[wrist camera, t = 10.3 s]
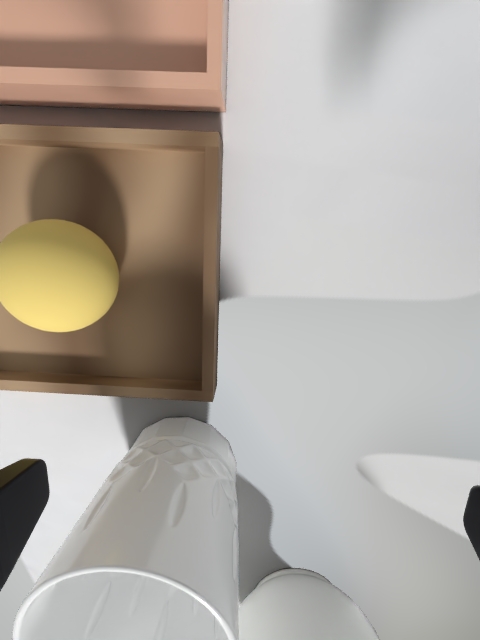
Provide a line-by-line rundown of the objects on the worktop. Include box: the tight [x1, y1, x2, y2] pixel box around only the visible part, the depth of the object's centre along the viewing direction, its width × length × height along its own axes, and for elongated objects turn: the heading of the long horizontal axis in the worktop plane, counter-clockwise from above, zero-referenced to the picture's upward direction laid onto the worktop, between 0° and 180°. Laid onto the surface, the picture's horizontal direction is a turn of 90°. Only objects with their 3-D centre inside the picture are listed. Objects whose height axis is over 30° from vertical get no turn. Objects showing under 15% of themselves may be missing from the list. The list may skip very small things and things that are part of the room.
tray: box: [0, 124, 223, 402], centre depth 17 cm, size 14×13×2 cm
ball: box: [0, 219, 119, 332], centre depth 15 cm, size 5×5×5 cm
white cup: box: [12, 417, 239, 640], centre depth 16 cm, size 8×8×10 cm
